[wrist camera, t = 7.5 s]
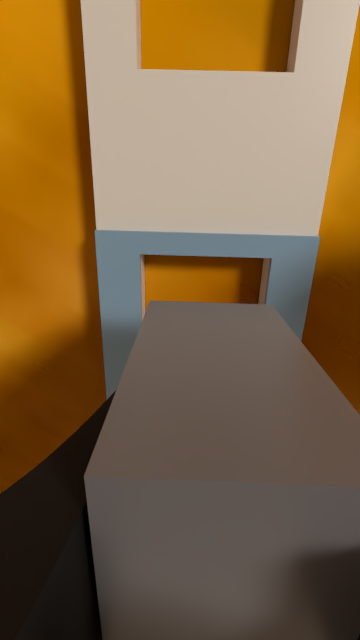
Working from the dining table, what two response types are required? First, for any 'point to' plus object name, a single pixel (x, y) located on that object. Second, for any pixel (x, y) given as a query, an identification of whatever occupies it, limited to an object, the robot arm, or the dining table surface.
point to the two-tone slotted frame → (209, 161)
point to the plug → (225, 485)
